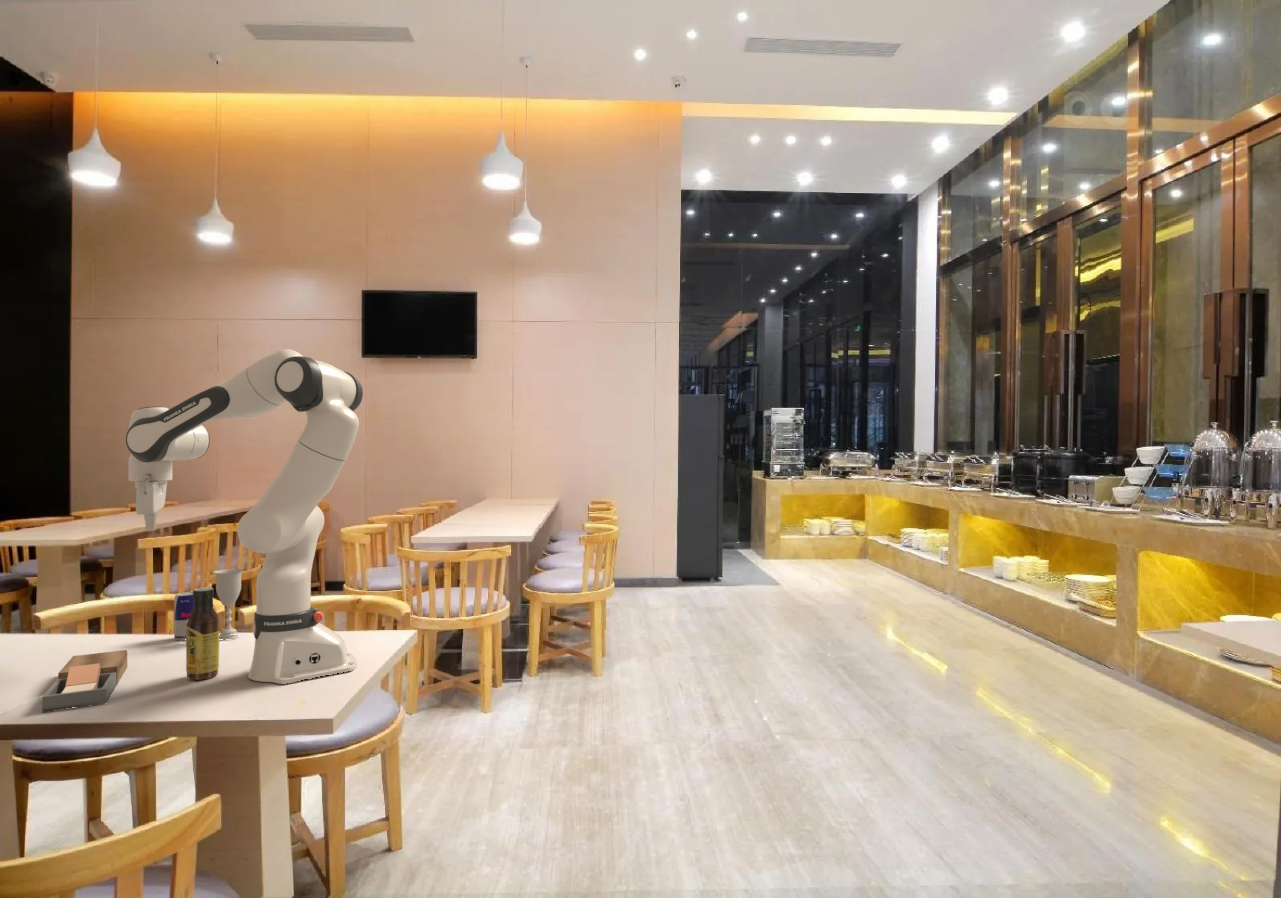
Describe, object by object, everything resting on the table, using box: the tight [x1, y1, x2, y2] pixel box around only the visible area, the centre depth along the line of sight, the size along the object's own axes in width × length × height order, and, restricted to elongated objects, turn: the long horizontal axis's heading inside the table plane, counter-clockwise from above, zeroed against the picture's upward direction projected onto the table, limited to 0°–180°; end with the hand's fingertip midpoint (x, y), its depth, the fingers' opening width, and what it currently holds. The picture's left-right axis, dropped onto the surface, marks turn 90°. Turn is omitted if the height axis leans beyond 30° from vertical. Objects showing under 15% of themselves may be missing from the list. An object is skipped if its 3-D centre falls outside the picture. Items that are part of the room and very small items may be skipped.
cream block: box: [62, 682, 97, 693], centre depth 144 cm, size 5×5×2 cm
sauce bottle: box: [185, 586, 220, 681], centre depth 159 cm, size 6×6×20 cm
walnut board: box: [57, 649, 128, 686], centre depth 157 cm, size 10×14×4 cm
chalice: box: [213, 568, 244, 641], centre depth 191 cm, size 7×7×18 cm
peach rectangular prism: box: [66, 663, 101, 687], centre depth 148 cm, size 5×5×2 cm
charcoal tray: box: [41, 672, 117, 712], centre depth 145 cm, size 10×12×3 cm
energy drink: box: [173, 591, 194, 641], centre depth 191 cm, size 5×5×12 cm
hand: (150, 530), depth 173 cm, fingers closed
